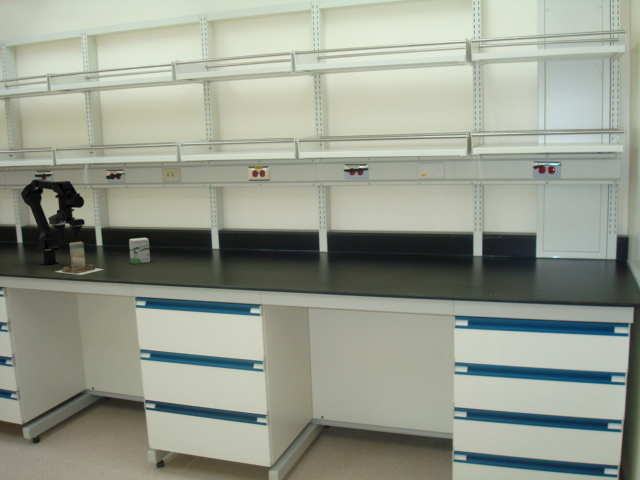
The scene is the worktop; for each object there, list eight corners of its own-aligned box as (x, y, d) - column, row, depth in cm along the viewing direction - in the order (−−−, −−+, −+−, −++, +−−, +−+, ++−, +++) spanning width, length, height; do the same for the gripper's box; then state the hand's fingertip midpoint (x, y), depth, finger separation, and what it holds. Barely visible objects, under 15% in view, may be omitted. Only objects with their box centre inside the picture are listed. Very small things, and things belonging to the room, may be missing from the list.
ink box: (133, 264, 284) (131, 240, 283) (130, 262, 288) (128, 239, 287) (150, 262, 289) (149, 238, 287) (147, 260, 293) (145, 237, 291)
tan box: (71, 270, 271) (69, 243, 268) (83, 269, 274) (80, 241, 272) (74, 272, 267) (71, 244, 265) (85, 270, 270) (83, 242, 268)
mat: (54, 272, 270) (54, 271, 269) (78, 267, 281) (78, 266, 281) (81, 275, 261) (81, 274, 261) (104, 269, 272) (104, 269, 272)
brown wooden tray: (62, 271, 268) (61, 267, 268) (80, 267, 277) (80, 263, 277) (76, 273, 264) (76, 269, 263) (95, 269, 272) (94, 265, 272)
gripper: (37, 208, 277) (41, 241, 280) (63, 209, 268) (67, 243, 271) (58, 206, 287) (61, 237, 289) (84, 207, 278) (86, 239, 280)
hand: (68, 239), depth 282 cm, fingers open, 9 cm apart
